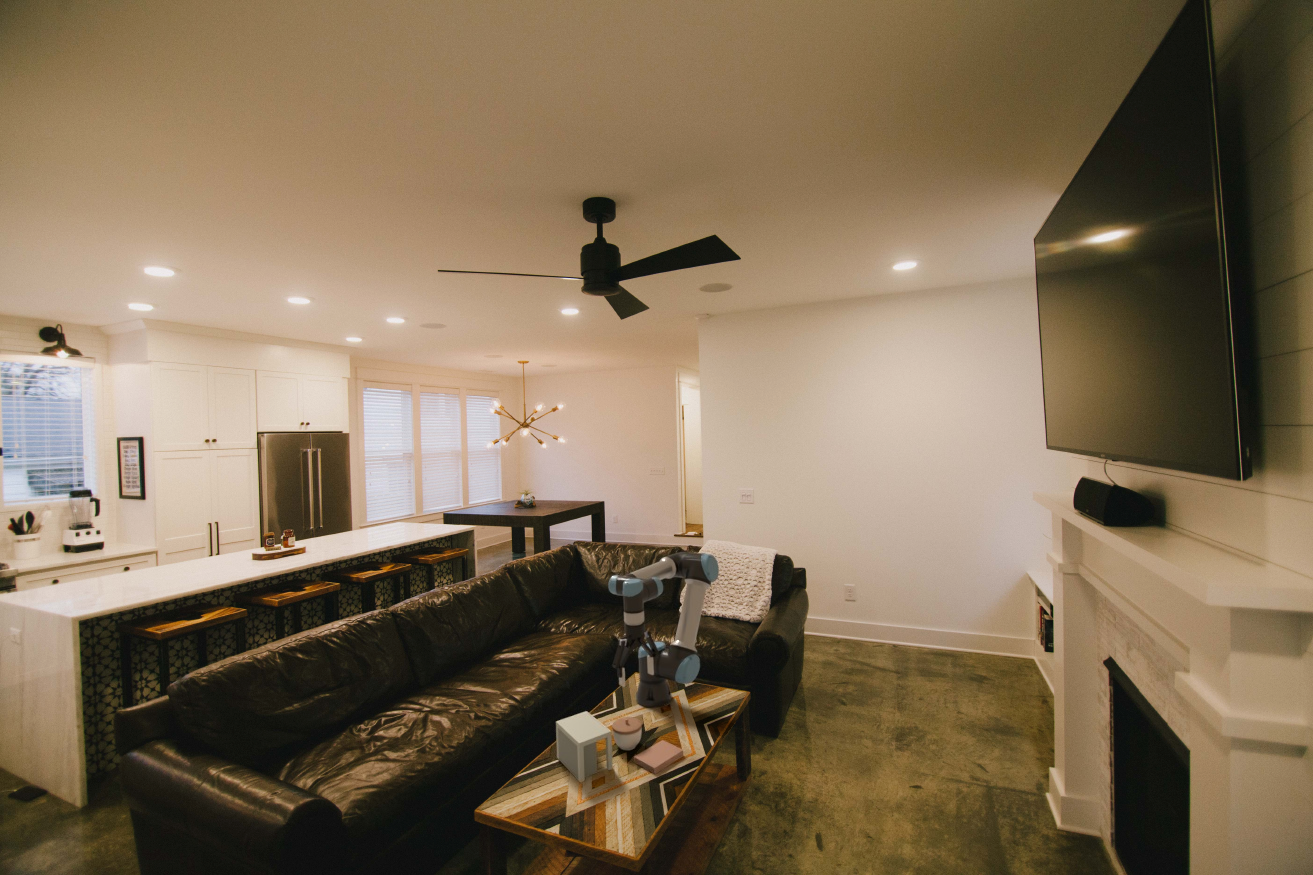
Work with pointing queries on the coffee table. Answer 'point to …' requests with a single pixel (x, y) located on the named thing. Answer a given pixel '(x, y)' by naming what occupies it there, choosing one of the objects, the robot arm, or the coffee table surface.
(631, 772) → the coffee table surface
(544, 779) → the coffee table surface
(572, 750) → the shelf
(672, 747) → the book
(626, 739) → the lidded jar
